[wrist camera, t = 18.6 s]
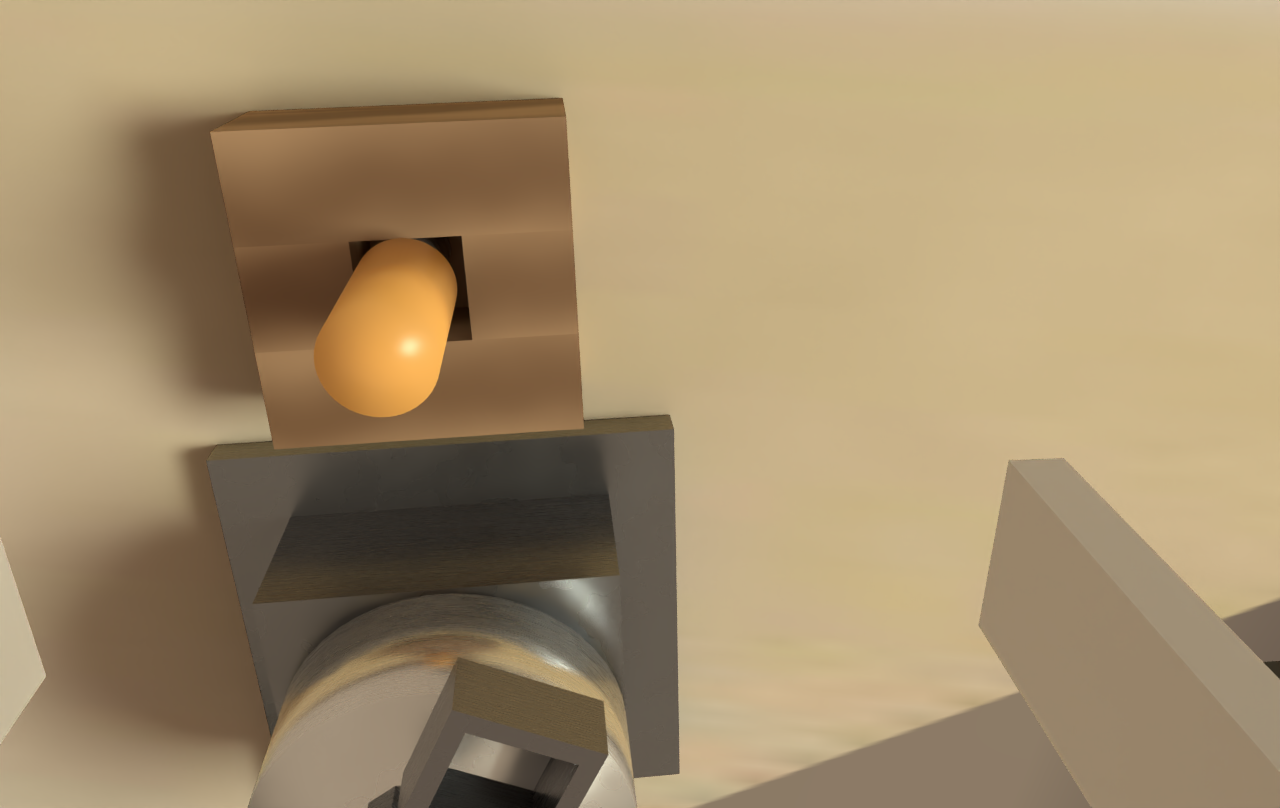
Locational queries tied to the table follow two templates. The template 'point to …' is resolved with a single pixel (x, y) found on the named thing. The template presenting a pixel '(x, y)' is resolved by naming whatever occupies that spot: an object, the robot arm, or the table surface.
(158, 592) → the table surface
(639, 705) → the stand
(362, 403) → the orange rounded rod
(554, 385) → the wooden hole block
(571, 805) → the chuck
